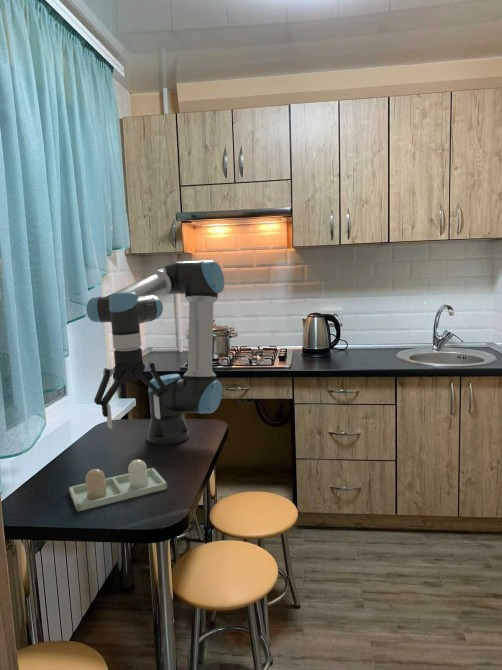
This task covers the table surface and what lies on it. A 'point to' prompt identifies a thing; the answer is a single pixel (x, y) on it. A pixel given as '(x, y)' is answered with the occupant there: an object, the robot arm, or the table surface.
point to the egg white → (138, 474)
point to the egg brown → (95, 484)
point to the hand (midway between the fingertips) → (134, 422)
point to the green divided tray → (116, 490)
